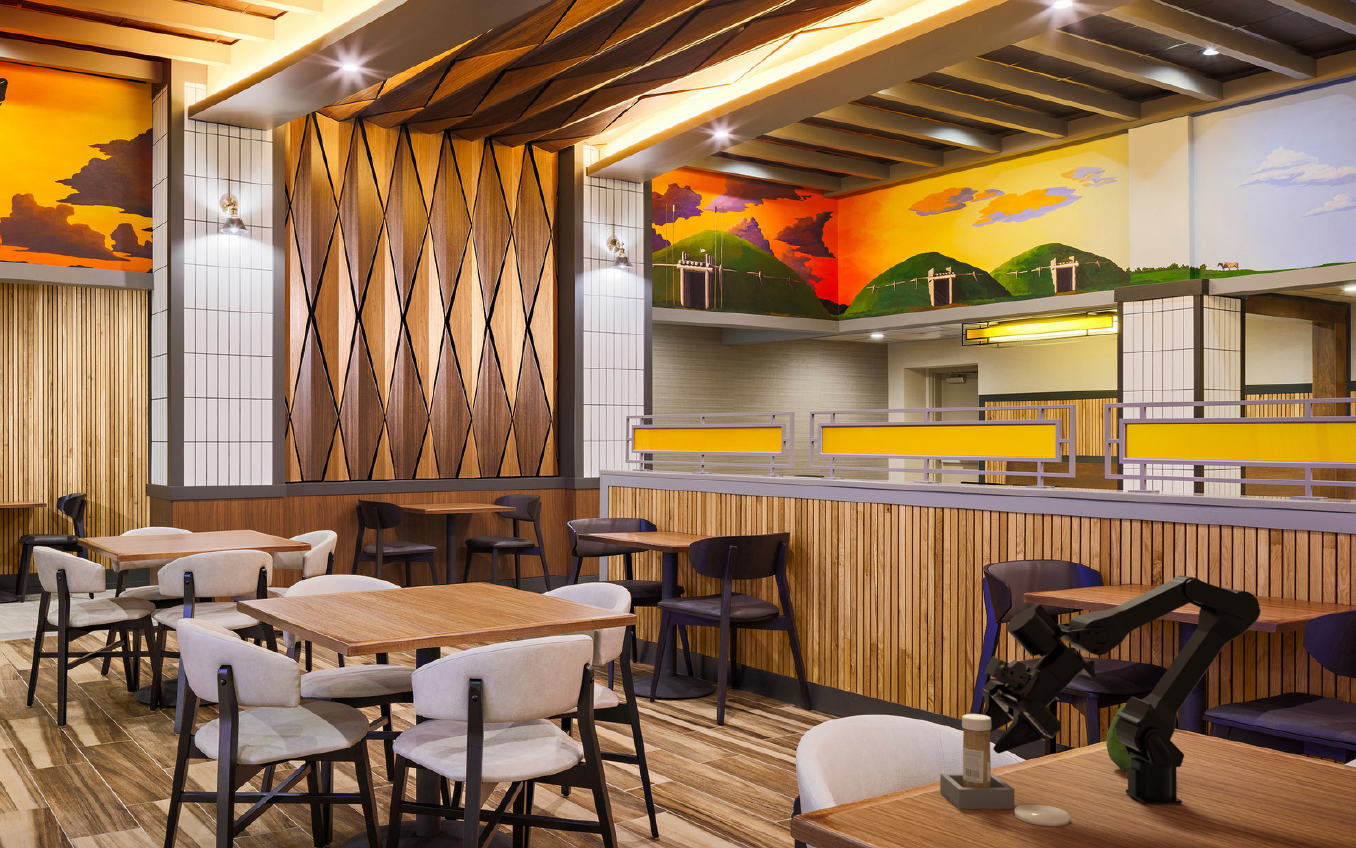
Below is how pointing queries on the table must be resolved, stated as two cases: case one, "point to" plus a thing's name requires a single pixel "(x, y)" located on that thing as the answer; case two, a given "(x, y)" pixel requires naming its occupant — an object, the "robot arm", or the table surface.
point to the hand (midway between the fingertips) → (984, 744)
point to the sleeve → (977, 793)
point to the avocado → (1117, 746)
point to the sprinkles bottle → (976, 751)
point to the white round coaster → (1042, 815)
